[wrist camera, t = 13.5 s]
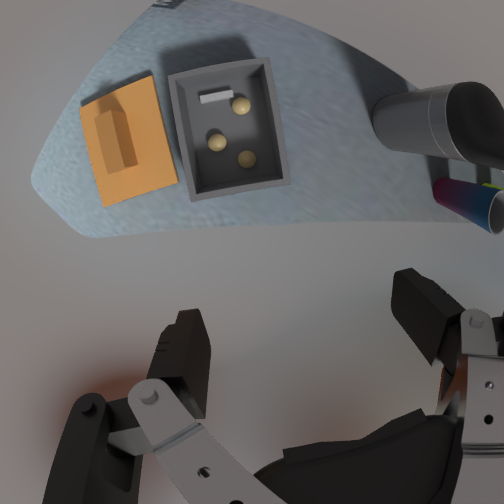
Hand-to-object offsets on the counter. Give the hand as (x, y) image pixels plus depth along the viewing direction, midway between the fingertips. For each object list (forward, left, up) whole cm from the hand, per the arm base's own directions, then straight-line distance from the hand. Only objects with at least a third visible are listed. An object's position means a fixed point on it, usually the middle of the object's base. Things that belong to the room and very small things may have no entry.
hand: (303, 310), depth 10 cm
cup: (-34, +4, -30) cm, 46 cm away
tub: (+2, -9, -30) cm, 31 cm away
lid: (+17, -11, -30) cm, 37 cm away
